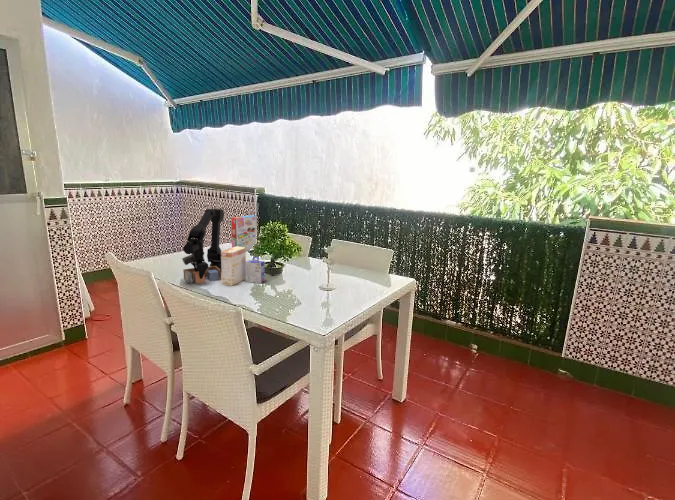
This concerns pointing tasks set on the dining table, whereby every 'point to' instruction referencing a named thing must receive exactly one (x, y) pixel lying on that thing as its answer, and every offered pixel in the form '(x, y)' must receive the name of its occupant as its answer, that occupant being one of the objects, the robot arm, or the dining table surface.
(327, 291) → the dining table surface
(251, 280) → the ink cartridge box
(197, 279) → the salmon rectangular block
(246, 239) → the game box
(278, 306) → the dining table surface
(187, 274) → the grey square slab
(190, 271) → the shelf
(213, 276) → the blue-grey plain cube block
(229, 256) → the coffeecake box
